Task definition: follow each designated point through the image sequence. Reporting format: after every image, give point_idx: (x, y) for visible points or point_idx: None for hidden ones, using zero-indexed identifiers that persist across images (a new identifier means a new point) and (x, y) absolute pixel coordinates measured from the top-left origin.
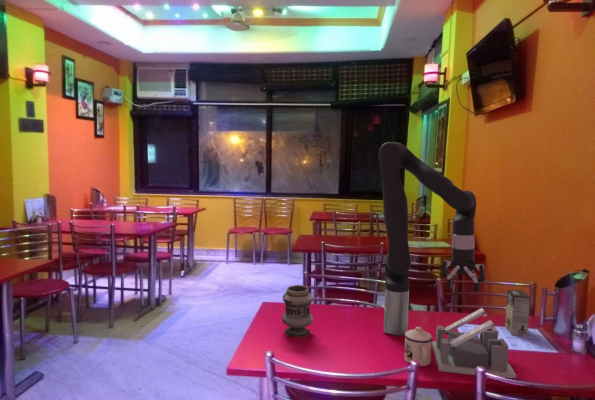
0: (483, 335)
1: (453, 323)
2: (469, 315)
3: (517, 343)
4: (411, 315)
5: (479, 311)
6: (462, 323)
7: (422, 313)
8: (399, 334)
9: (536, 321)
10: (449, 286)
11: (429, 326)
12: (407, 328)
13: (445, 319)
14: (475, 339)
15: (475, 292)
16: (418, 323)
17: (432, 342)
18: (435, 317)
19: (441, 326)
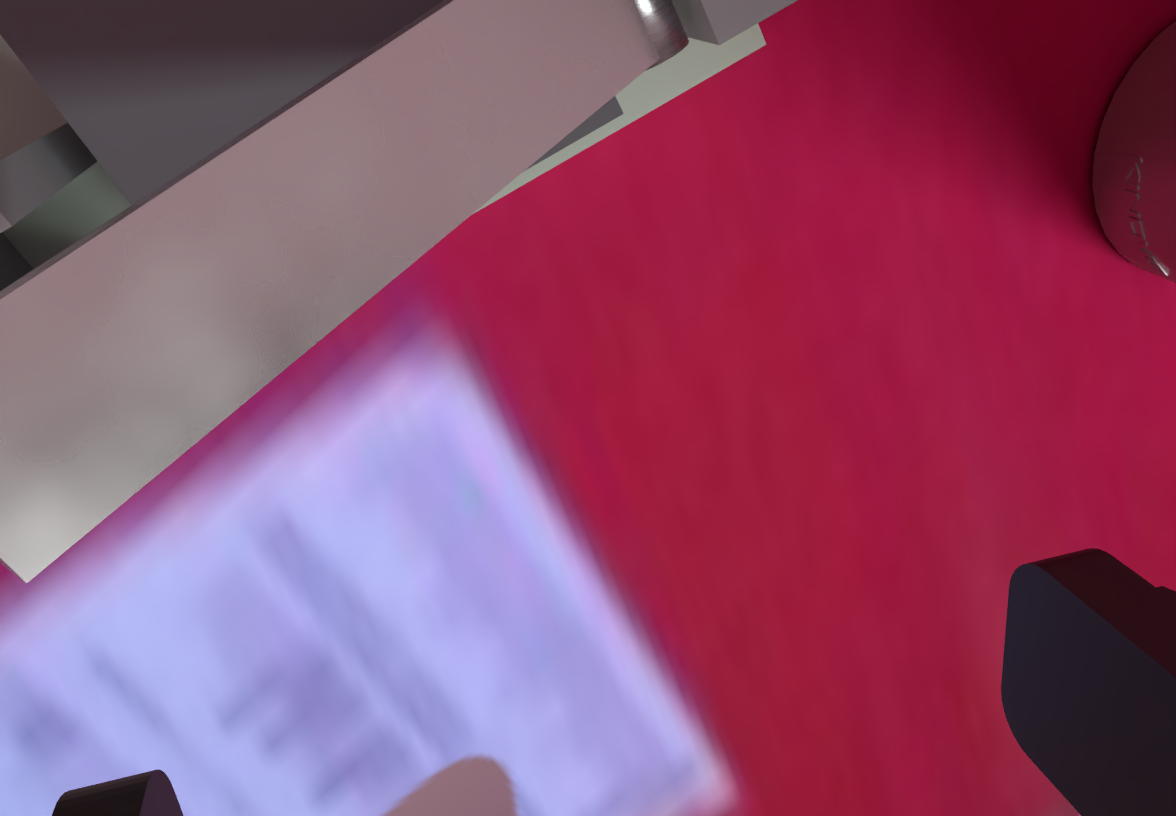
0: (14, 179)
1: (562, 129)
2: (294, 309)
3: (34, 786)
4: None
5: (29, 404)
6: (358, 61)
7: None
8: (1164, 37)
9: None
10: (1144, 607)
11: (921, 537)
12: (1126, 207)
13: (833, 798)
14: (134, 77)
15: (72, 796)
16: (1037, 526)
17: (756, 25)
18: (927, 773)
19: (727, 6)
